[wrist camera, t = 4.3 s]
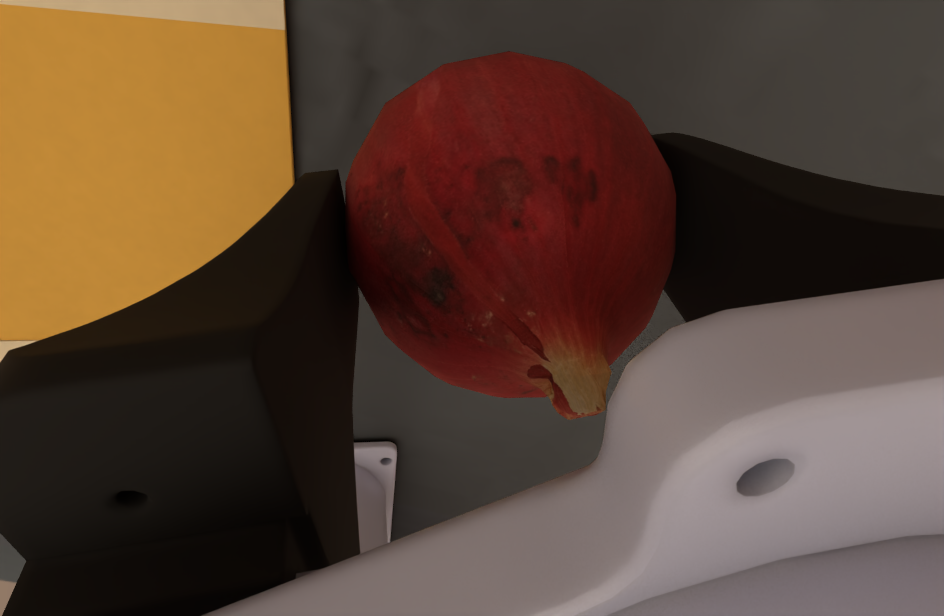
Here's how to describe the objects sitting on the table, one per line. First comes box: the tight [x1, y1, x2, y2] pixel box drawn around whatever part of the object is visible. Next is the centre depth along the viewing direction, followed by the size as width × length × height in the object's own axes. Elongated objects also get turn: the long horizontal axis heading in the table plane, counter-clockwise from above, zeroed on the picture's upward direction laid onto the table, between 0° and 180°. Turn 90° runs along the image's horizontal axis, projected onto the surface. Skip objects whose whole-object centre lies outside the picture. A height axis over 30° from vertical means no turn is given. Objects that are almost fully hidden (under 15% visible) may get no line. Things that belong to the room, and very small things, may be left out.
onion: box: [345, 51, 676, 420], centre depth 11 cm, size 6×6×8 cm
